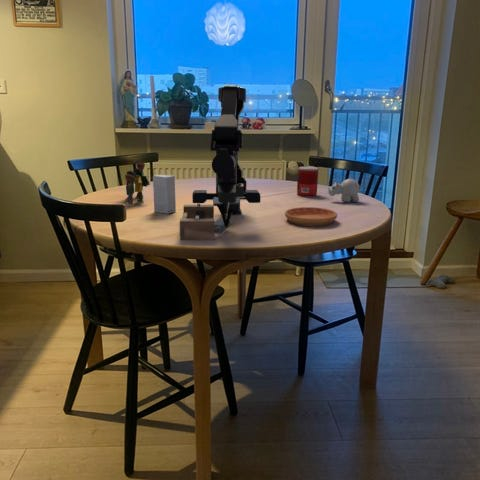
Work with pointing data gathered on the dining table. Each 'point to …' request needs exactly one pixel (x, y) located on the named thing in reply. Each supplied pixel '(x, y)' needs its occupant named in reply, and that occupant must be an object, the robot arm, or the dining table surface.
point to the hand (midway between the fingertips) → (226, 226)
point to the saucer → (311, 216)
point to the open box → (197, 222)
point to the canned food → (307, 181)
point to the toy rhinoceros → (346, 190)
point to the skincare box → (164, 194)
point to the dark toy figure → (136, 184)
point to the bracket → (220, 225)
